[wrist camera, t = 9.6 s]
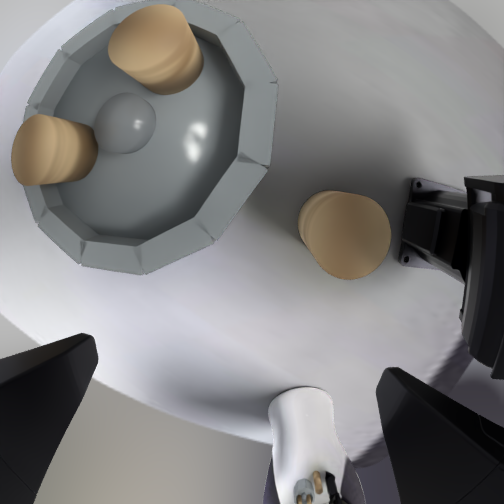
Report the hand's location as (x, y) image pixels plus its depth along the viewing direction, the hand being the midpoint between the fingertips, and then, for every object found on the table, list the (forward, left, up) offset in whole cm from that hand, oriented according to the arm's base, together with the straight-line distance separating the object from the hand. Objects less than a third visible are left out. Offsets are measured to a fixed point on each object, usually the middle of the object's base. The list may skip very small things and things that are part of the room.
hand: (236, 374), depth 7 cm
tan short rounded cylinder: (+14, -7, -11) cm, 19 cm away
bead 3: (-5, -3, -12) cm, 13 cm away
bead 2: (+6, -13, -11) cm, 18 cm away
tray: (+9, -9, -12) cm, 17 cm away
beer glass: (-6, +14, -12) cm, 20 cm away
